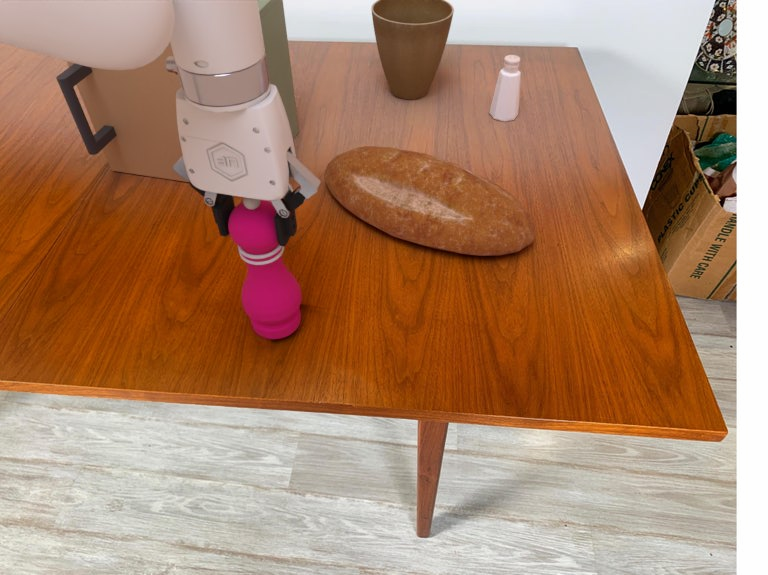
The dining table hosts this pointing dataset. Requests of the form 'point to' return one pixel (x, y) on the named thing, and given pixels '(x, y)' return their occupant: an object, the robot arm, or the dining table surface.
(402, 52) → the plant pot
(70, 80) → the cupboard door
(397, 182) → the bread
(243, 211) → the pepper mill
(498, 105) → the salt shaker
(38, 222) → the dining table surface
